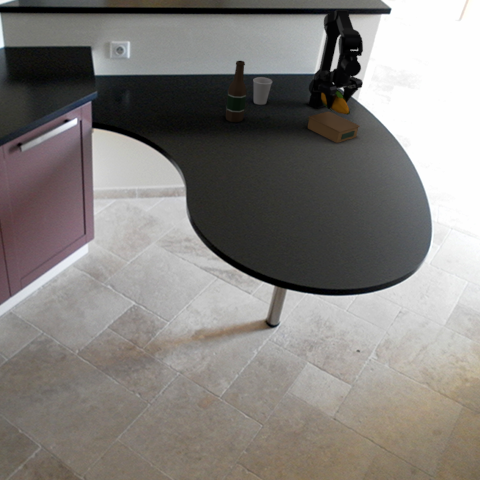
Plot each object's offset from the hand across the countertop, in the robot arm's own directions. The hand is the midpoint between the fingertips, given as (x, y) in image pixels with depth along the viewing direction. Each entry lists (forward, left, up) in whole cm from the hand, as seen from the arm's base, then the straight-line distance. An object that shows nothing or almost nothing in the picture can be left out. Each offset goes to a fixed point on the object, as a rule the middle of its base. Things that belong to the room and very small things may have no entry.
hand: (336, 106), depth 232 cm
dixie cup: (+4, -39, -11) cm, 40 cm away
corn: (0, 0, -2) cm, 2 cm away
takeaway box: (0, 0, -11) cm, 11 cm away
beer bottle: (+26, -30, -11) cm, 41 cm away
